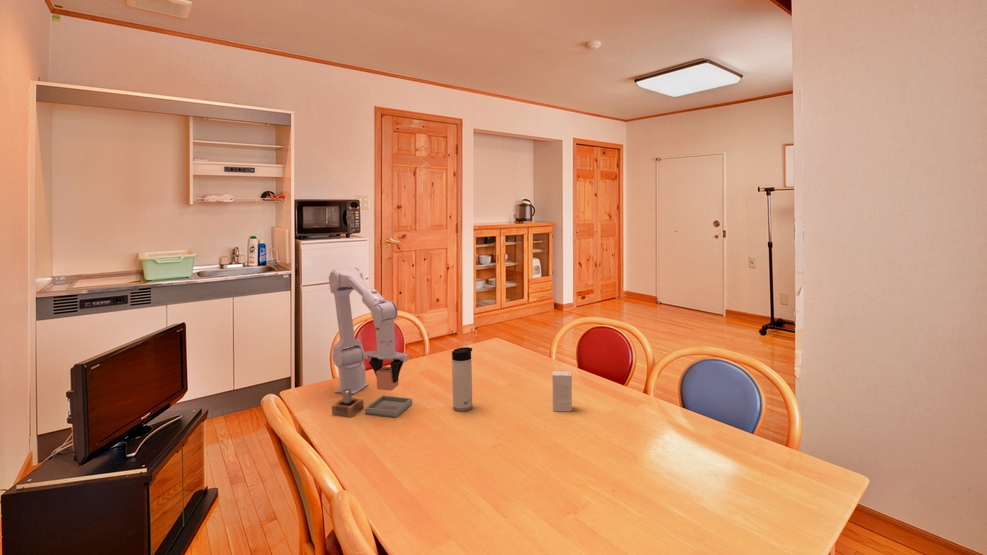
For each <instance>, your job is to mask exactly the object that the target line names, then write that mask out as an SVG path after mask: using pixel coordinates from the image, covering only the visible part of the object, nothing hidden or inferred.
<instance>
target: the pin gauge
mask: <svg viewBox="0 0 987 555" xmlns="http://www.w3.org/2000/svg"><path fill="white" fill-rule="evenodd" d="M341 394H342V399H343V405H345V406H351V405H352V398H353V396H352V395H353V394H352V392H351V389H346V390H343V391H342V393H341Z"/></svg>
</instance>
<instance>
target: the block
mask: <svg viewBox="0 0 987 555" xmlns="http://www.w3.org/2000/svg"><path fill="white" fill-rule="evenodd" d="M375 377H377V378H376V389H377V390H382V391H388V392H389V391H393V390H394V389H395V388H397V387H398V386H399V382H400V381H399V380H398V381H397V382H396V383H393V378H392V369H391V366H385V365H384V366H382V368H380V369H379V370H377V371H376V375H375Z"/></svg>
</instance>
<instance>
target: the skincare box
mask: <svg viewBox="0 0 987 555" xmlns="http://www.w3.org/2000/svg"><path fill="white" fill-rule="evenodd" d="M551 375H552V377H551V380H552V382H551V383H552V411H553V412H572V411H573V408H572V407H573V406H572V404H573V403H572V402H573V401H572V400H573V399H572V398H573V397H572V396H573V395H572V394H573V390H572V389H573V387H572V385H573V384H572V380H573V378H572V372H571V371H568V370H565V371H563V370H562V371H561V370H554V371H553V370H552V373H551Z"/></svg>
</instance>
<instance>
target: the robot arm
mask: <svg viewBox="0 0 987 555" xmlns="http://www.w3.org/2000/svg"><path fill="white" fill-rule="evenodd" d="M328 283H329V290H330V293H331V294H333V295H334V296H333V297H334V304H335V311H336V319H337V327H338V334H339V340H338V341H337V342H336V343H335V344H334V345H333V346H332V349H333V350H332V361H333V364H334V365H335V366H336V367H337V368H338V374H339V376H338V377H339V387H338V388H337V389H335V390H334V392H336V393H338V394H339V393H341V394H342V391H343V390H346V389H351V392H352V395H355V394H357V393H358V392H360V391H361V390H362V389H364V388H366V387H367V386H369V384H368V383H367V382H366V381H367V379H366V367H365V365H364V364H363V363H362V362H364V360H365V359H366V360H367V359H370V360H369V362H368V363H369V365H370V366H371V368H372V370H373V372H374V374H375V377H376V371H377V370H379V369H380V368H382V367H384V366H383V365H384V364H383V363H384V360H385V361H386V360H389V361H391V362H390V363H389V365H390V366H389V367H391V369H392V378H393V383H396V382H397V381H398V382H399V376H400V372H401V369H402V367H403V364H404V363H405V362H406V363H407V362H408V361H409V358H410V357H409V353H403V352H399V351H396V335H395V333H396V332H395V319H396V318H397V317H398V307H397V305H396V303H395V302H394V301H392V300H386V299H385V298H384V297H383V296H382V295H381V294H380V292H378V290H377V289H374V288H371V287H369V285H368V284H367V283H366V281H365V280H364V276H363V272H362V271H361V269H360V268H359V267H353V268H345V269H332V270H331V272H330V273H329V275H328ZM353 291H355V292H357V293H358V294H359V295H360V296H361V301H362V303H363V304H364V305H365V306H366V307H367V309H368V310H369V311H370V314H371V318H372V321H373V326H374V327H375V335H376V350H373V351H372V350H371V351H370V350H368V351H367V350H366V351H365V350H364V347H363V343H362V342H361V340H359V339H356V337H355V329H354V322H353V313H352V308H351V299H350V295H351V293H352V292H353ZM376 379H377V377H376Z"/></svg>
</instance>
